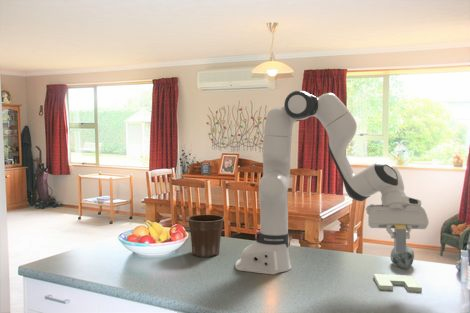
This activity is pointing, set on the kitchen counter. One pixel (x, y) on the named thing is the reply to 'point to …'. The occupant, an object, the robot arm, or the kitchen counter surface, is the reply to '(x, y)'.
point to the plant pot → (205, 234)
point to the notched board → (397, 282)
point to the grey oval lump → (402, 258)
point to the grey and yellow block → (400, 238)
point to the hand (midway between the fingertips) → (400, 237)
